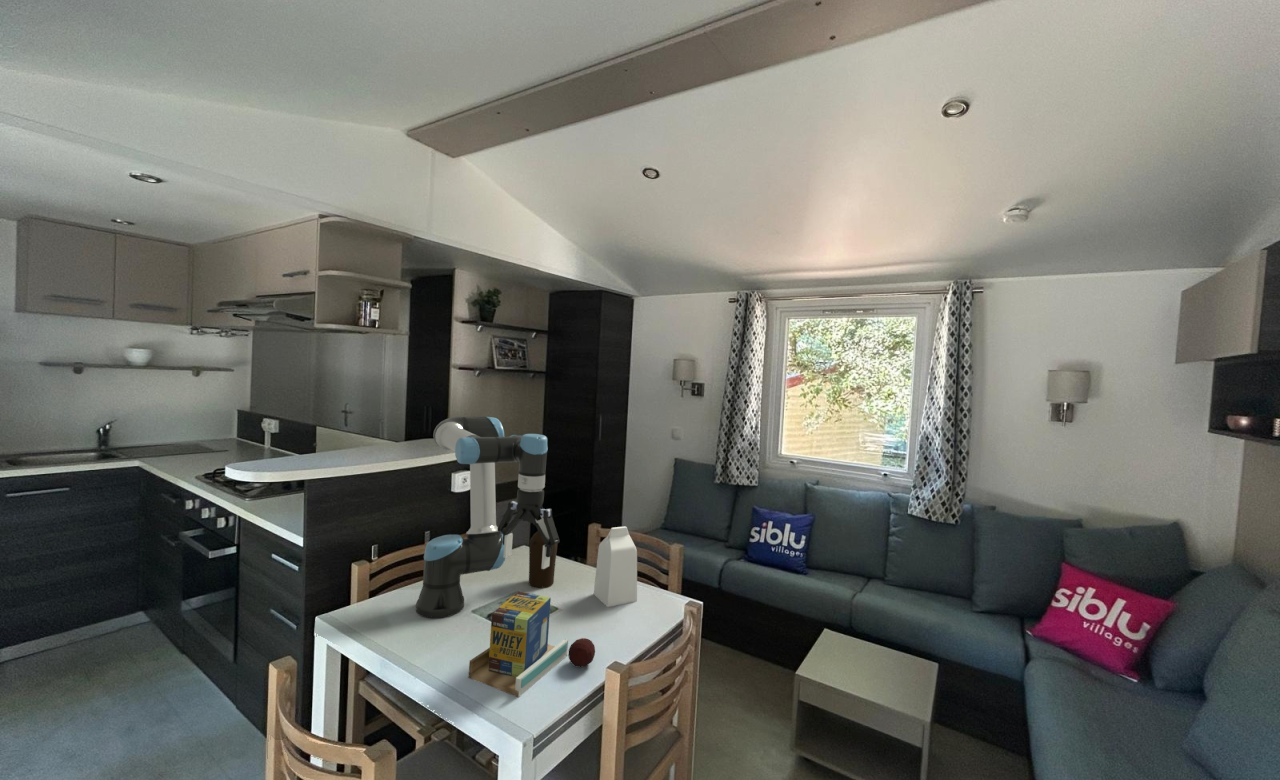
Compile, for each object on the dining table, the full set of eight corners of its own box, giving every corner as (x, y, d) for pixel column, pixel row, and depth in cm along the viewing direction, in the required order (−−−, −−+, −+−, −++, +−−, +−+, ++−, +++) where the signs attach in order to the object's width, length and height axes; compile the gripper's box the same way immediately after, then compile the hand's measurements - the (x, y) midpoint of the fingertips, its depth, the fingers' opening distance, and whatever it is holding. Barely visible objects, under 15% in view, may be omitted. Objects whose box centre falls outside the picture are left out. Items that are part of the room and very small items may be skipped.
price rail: (514, 695, 125) (515, 677, 125) (563, 654, 145) (564, 639, 145) (519, 697, 125) (520, 679, 125) (567, 655, 145) (568, 640, 145)
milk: (607, 606, 178) (612, 533, 177) (593, 594, 188) (597, 524, 187) (636, 601, 184) (641, 530, 183) (621, 589, 194) (626, 521, 193)
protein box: (487, 671, 132) (490, 613, 132) (515, 643, 147) (518, 590, 147) (523, 679, 130) (527, 620, 130) (548, 649, 145) (551, 596, 145)
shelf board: (468, 677, 132) (468, 671, 132) (521, 640, 152) (521, 635, 152) (518, 697, 125) (518, 691, 125) (566, 655, 145) (567, 650, 145)
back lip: (468, 677, 132) (469, 660, 132) (521, 640, 152) (522, 625, 152) (471, 678, 131) (472, 661, 131) (524, 641, 151) (525, 626, 151)
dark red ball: (597, 659, 144) (598, 635, 144) (589, 675, 136) (590, 649, 136) (572, 655, 145) (574, 631, 145) (563, 670, 138) (565, 644, 138)
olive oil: (551, 590, 189) (555, 523, 189) (523, 587, 189) (527, 521, 189) (557, 579, 200) (561, 516, 199) (531, 576, 200) (534, 514, 200)
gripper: (488, 483, 146) (483, 555, 147) (559, 498, 135) (554, 576, 136) (505, 479, 153) (501, 548, 153) (575, 493, 142) (569, 567, 143)
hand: (526, 561), depth 145 cm, fingers open, 13 cm apart
